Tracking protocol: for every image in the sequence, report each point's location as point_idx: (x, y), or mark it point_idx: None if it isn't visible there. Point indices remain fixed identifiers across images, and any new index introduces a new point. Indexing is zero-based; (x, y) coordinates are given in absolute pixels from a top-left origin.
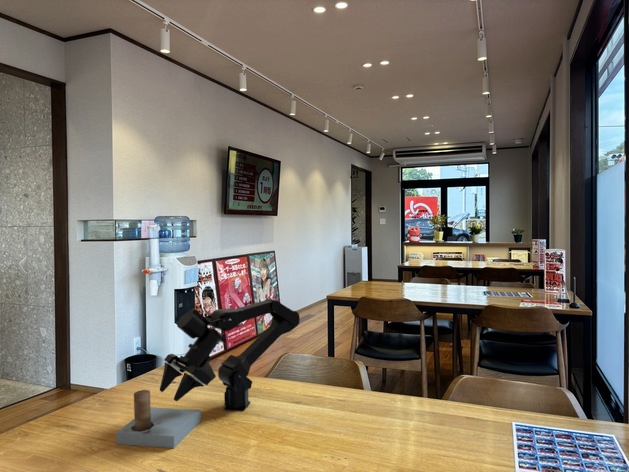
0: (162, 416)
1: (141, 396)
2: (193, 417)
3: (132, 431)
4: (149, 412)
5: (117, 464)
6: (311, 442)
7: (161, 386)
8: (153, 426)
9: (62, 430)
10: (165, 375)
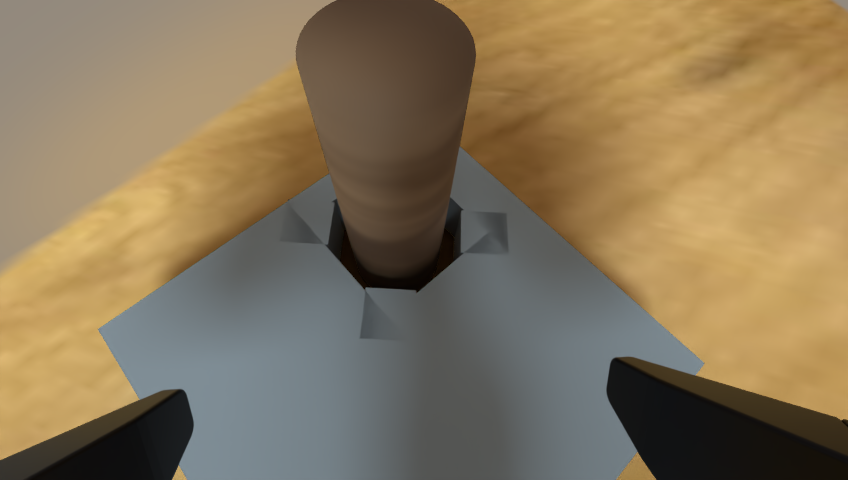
0: (469, 381)
1: (308, 33)
2: None
3: None
4: (346, 211)
5: (240, 115)
6: None
7: (641, 373)
8: (348, 276)
9: (692, 44)
10: (829, 468)
